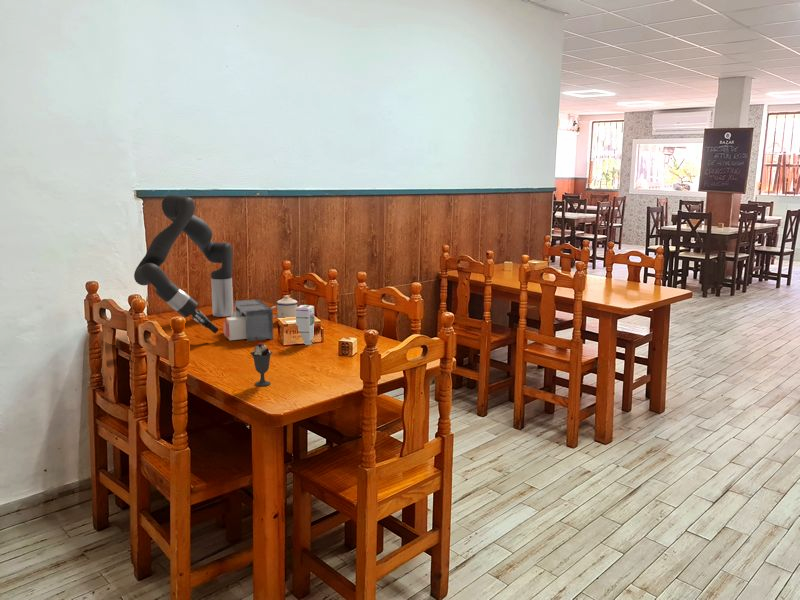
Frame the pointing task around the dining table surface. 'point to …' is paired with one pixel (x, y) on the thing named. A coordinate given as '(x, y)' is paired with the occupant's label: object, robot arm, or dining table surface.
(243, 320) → the white cube pink side
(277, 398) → the dining table surface
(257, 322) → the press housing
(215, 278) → the robot arm
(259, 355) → the sundae
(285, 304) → the teacup with lid
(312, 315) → the syrup box
